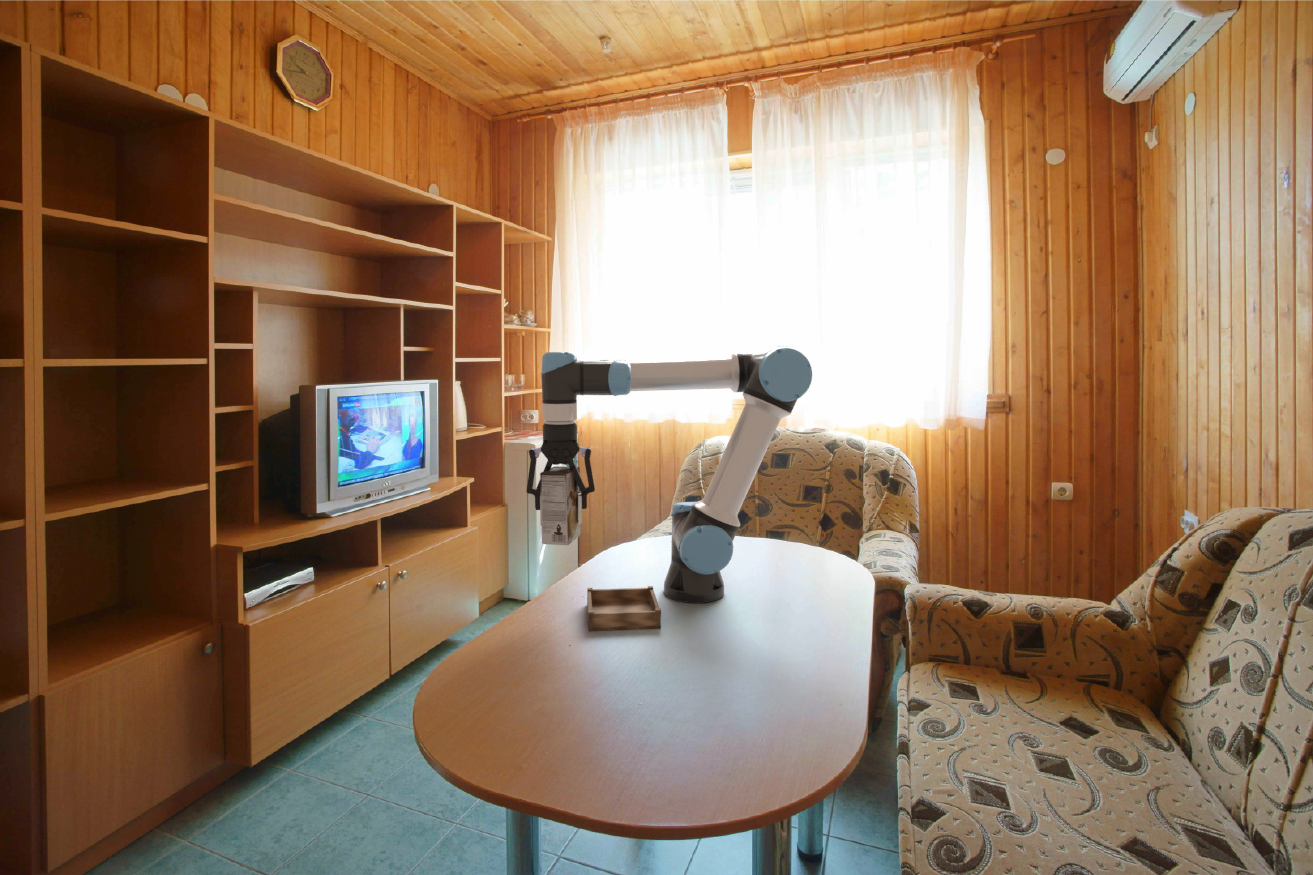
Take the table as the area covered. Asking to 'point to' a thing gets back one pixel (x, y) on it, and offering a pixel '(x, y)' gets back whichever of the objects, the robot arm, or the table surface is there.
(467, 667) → the table surface
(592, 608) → the crate
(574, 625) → the table surface
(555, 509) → the coffee box
